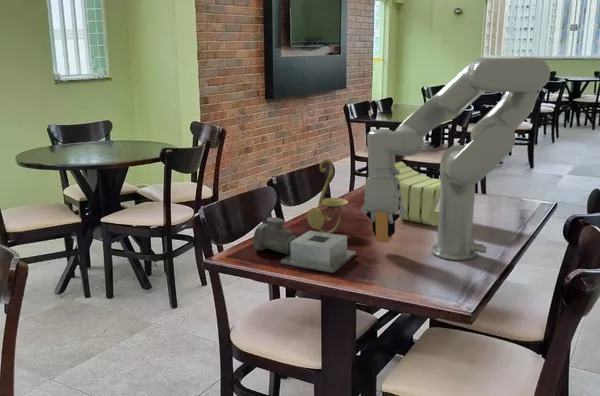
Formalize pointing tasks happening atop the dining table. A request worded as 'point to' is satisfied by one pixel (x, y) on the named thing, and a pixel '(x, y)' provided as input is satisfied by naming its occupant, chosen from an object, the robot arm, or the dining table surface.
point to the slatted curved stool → (418, 195)
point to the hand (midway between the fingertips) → (383, 234)
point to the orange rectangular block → (382, 227)
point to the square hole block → (319, 251)
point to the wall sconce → (315, 214)
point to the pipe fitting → (273, 236)
